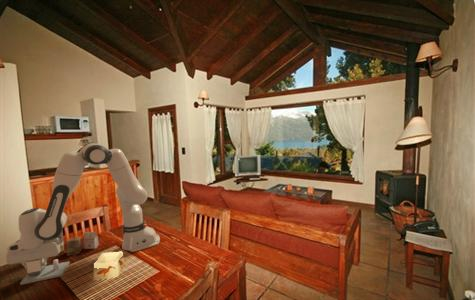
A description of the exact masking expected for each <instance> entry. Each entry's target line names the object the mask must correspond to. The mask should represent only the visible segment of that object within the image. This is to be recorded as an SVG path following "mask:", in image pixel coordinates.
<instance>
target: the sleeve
mask: <svg viewBox="0 0 475 300" xmlns="http://www.w3.org/2000/svg"><path fill="white" fill-rule="evenodd" d="M43 261H45V260H44V259H43V258H41V259H36V260H31V261H27V263H26V265H27V269H26V272H27V273H26V275H27V274H28V276H31V275H36V274H41V272H42V271H43V270H44V269H45V266H42V265H41V263H42V262H43Z"/></svg>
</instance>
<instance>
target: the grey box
mask: <svg viewBox="0 0 475 300" xmlns="http://www.w3.org/2000/svg"><path fill="white" fill-rule="evenodd" d="M83 233H84V234H83V237H82V239H83V240H82V244H83V250H95V249H97V248H98V246H99V237H98V234H97V232H96V231H87V232H86V231H85V232H83Z"/></svg>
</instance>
